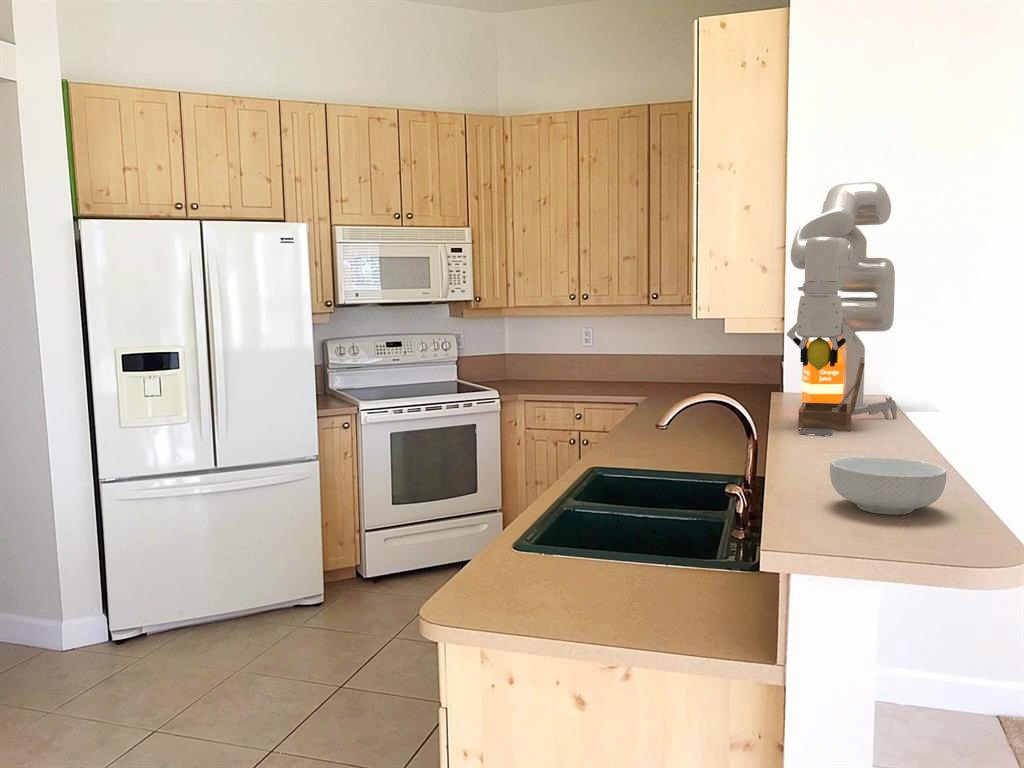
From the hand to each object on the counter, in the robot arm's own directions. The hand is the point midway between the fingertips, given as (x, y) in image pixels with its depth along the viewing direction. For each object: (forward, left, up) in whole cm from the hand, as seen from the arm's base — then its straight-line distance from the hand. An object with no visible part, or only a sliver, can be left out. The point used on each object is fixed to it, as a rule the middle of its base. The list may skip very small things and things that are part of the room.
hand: (818, 365), depth 211 cm
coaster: (+2, 0, -16) cm, 16 cm away
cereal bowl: (+75, +13, -16) cm, 78 cm away
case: (-12, +3, -16) cm, 20 cm away
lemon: (0, 0, -1) cm, 1 cm away
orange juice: (-33, 0, -16) cm, 37 cm away
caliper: (-25, +9, -17) cm, 31 cm away
